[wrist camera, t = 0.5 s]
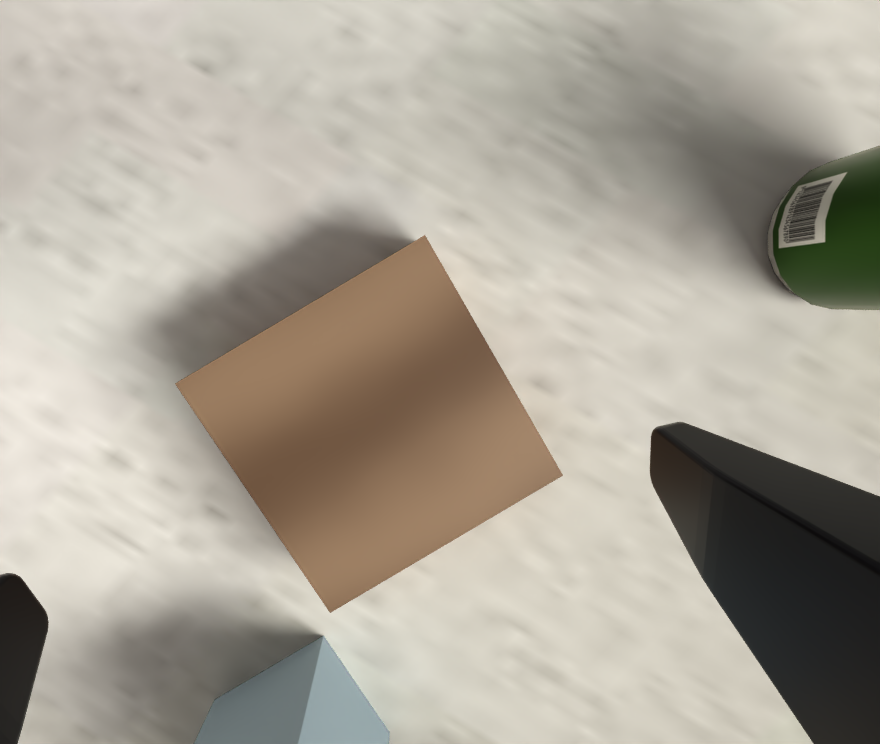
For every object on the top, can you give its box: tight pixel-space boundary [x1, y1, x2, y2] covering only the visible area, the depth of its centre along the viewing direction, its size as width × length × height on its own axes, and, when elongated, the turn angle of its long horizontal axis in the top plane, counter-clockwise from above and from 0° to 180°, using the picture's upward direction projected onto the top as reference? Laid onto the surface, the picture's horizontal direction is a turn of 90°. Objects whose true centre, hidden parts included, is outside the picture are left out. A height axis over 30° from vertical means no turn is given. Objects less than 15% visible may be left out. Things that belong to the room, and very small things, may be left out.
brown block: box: [175, 235, 563, 613], centre depth 19 cm, size 9×9×3 cm
